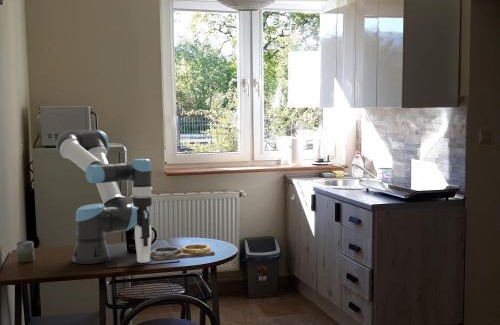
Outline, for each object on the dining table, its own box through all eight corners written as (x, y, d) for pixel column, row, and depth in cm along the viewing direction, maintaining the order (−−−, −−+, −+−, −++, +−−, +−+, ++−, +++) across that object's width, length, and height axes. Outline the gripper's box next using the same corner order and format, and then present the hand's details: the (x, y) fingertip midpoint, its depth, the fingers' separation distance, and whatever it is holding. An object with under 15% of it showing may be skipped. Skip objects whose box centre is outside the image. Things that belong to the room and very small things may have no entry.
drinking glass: (153, 259, 243) (153, 224, 242) (149, 263, 237) (148, 227, 236) (138, 259, 244) (137, 224, 243) (133, 263, 237) (132, 227, 236)
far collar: (186, 254, 248) (186, 250, 248) (179, 248, 259) (179, 245, 259) (212, 251, 252) (212, 248, 252) (204, 246, 263) (204, 243, 263)
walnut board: (155, 260, 243) (155, 257, 243) (148, 254, 255) (148, 251, 255) (214, 254, 252) (214, 252, 252) (205, 248, 264) (205, 246, 264)
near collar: (156, 256, 243) (156, 253, 243) (150, 251, 254) (150, 248, 254) (182, 254, 248) (182, 251, 248) (176, 249, 258) (176, 245, 258)
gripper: (156, 198, 231) (157, 256, 232) (146, 193, 249) (147, 246, 251) (137, 199, 228) (138, 257, 230) (128, 194, 246) (130, 248, 248)
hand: (143, 252), depth 240 cm, fingers closed on drinking glass, 7 cm apart
